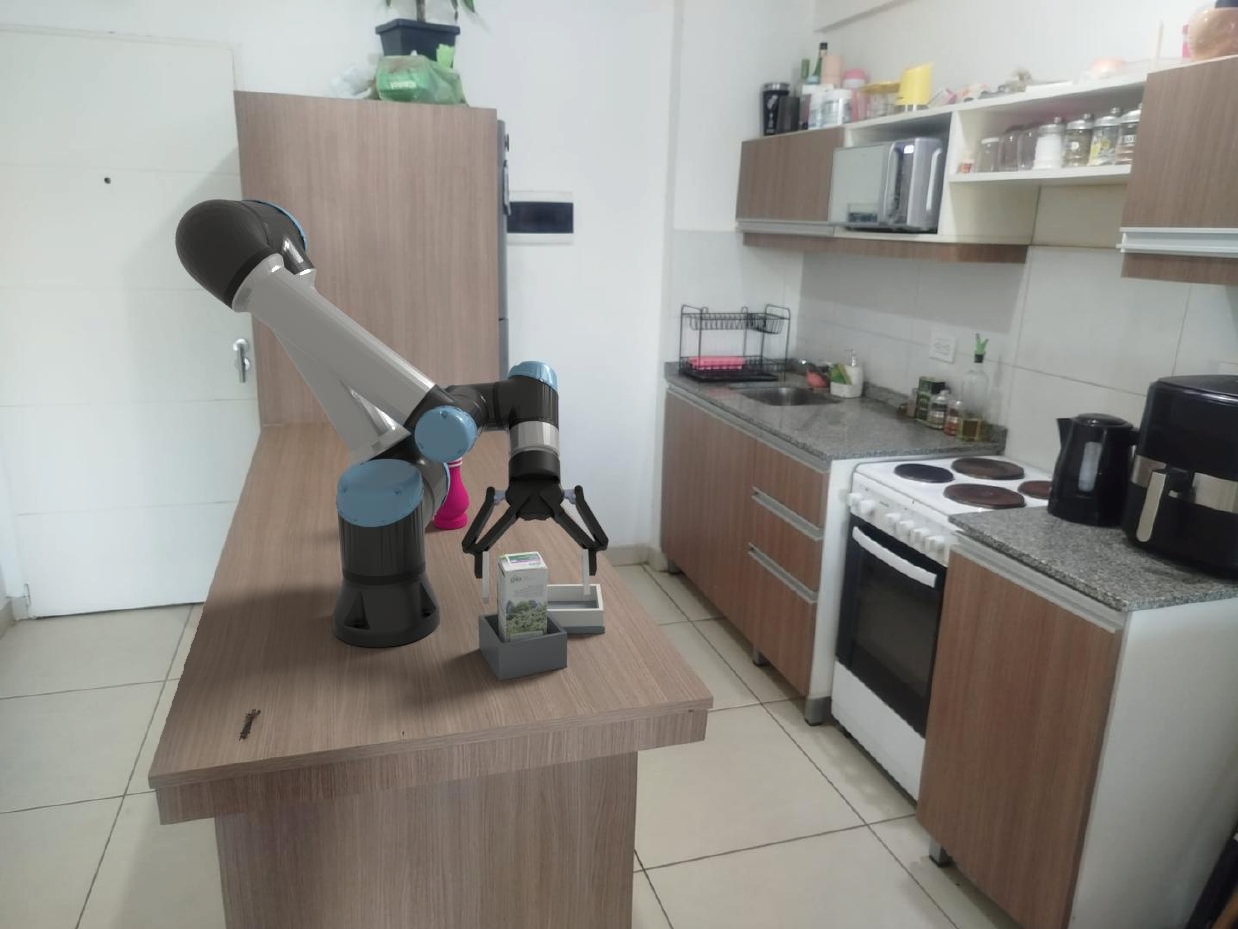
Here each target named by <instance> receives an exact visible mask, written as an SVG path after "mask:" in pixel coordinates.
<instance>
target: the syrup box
mask: <svg viewBox="0 0 1238 929" xmlns="http://www.w3.org/2000/svg"><path fill="white" fill-rule="evenodd" d="M548 572H549V571H548V567H547V565H546V564H545V561H544V560H543V558H542V556H541V554H540V553H539V552H538V551H528V552H526V551H525V552H517V553H507V554H499V555H497V556H496V585H497V586H496V592H497V599H496V600H497V602H496V603H497V612H498V638H499V640H500V641H501V643H505V642H510V641H516V640H521V639H526V638H532V637H537V636H542V635H547V585H548V576H549V575H548Z"/></svg>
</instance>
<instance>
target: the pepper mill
mask: <svg viewBox="0 0 1238 929" xmlns="http://www.w3.org/2000/svg"><path fill="white" fill-rule="evenodd" d="M462 460H463V456H462V457H461V458H459V459H458V460H456V461H453V462H450V463H446V464H447V466H448V469H449V473H450V487H449V491H448V494H447V497H446V500H445V502H444V504H443V506H442V507H441V509H440V510H438V512H437V513H436V514H435V515H434V517H433V519H434V526H435V527H436V528H438V529H442V530H457V529H461V528H464V527H466V526H467V524H468V514H467V513H466V510H467V509H469V506H470V500H469V499H470V498H469V495H468V490H467V489H466V487H465V485H464V482H463V480H462V476H461V465H463V461H462Z"/></svg>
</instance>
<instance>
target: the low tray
mask: <svg viewBox="0 0 1238 929" xmlns="http://www.w3.org/2000/svg"><path fill="white" fill-rule="evenodd" d="M547 610H548V611H549V612H550V613H551V615H552V616H553V617H554V618H555V619H556V621H557V622H558V623H559V624H560V625H561V626H562V628H563V629H564V630H565V631H566V632H567V634H605V632H606V631H605V630H606V625H605V624H606V623H605V619H604V618H605V616H604V614H605V613H604V612H605V610H604V603H603V596H602V589H601V584H600V583H590V598H589V601H584V600H583V583H577V584H576V583H571V584H569V583H567V584H566V583H565V584H559V583H558V584H547Z"/></svg>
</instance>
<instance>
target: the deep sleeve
mask: <svg viewBox="0 0 1238 929" xmlns="http://www.w3.org/2000/svg"><path fill="white" fill-rule="evenodd" d="M478 646H479V647H478V648H479V651H480V652H481V653H482V655H483V657H484V658H485V660H486V662H487V663H488V665H489V666H490V668H491V670H492V671H493V673H494V675H495V676H496V678H497V679H498V681H500V682H501V681H504V680H509V679H514V678H519V677H524V676H529V675H533V674H539V673H544V672H549V671H553V670H558V669H564V668H567V667H568V633H567V632H566V631H565V630H564V629H563V628H562V626H561V625H560V624H559V623H558V622H557V621H556V619H555V618H554V617H553V616H552V615H551V613H550V612H549V611H548V610H547V635H542V636H537V637H532V638H526V639H521V640H516V641H510V642H505V643H501V641H500V640H499V638H498V611H497V612H492V613H486V614H485V613H484V614H480V615H478Z"/></svg>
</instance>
